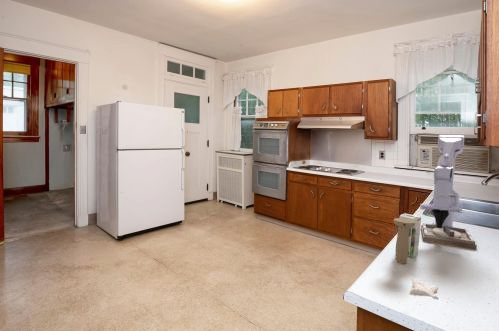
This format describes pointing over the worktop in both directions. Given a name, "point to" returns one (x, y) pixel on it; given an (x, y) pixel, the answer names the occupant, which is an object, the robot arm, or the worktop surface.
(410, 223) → the handle
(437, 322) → the worktop surface
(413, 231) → the syrup box
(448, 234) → the dial
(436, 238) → the dial housing
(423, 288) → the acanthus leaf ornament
